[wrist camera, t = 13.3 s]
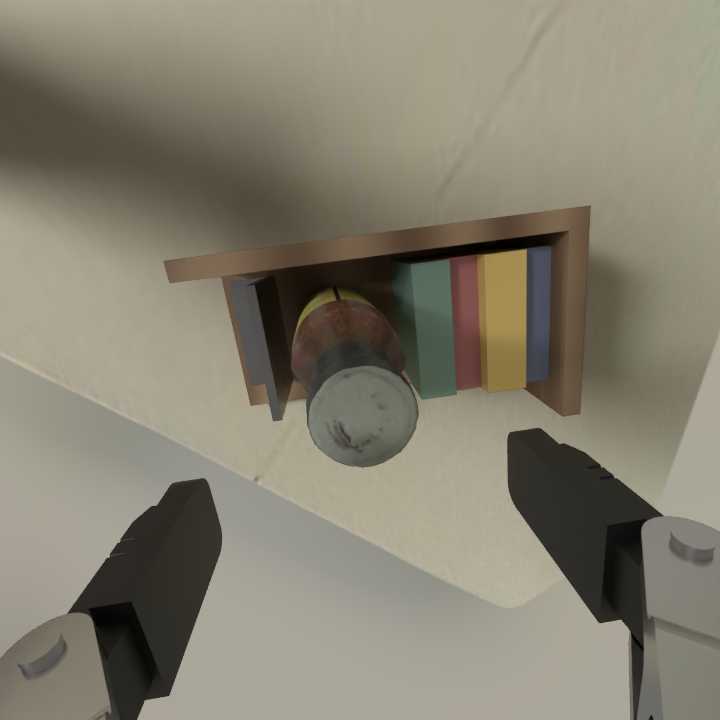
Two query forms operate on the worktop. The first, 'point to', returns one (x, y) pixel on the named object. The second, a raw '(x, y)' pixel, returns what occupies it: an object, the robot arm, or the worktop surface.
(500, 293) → the book row
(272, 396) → the bookend
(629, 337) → the worktop surface
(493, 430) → the worktop surface
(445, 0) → the worktop surface
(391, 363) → the sauce bottle
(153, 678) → the robot arm
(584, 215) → the shelf
